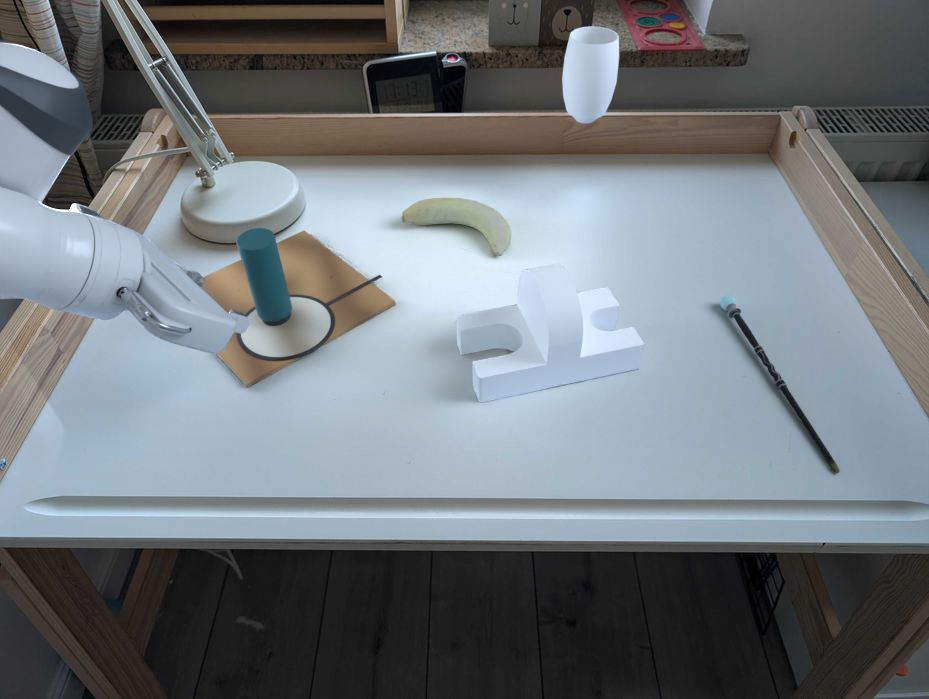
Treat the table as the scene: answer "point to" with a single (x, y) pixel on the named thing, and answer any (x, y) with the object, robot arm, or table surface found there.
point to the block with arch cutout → (547, 337)
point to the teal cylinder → (265, 275)
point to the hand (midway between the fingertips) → (221, 302)
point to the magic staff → (775, 375)
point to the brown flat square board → (295, 307)
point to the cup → (590, 72)
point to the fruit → (462, 218)
